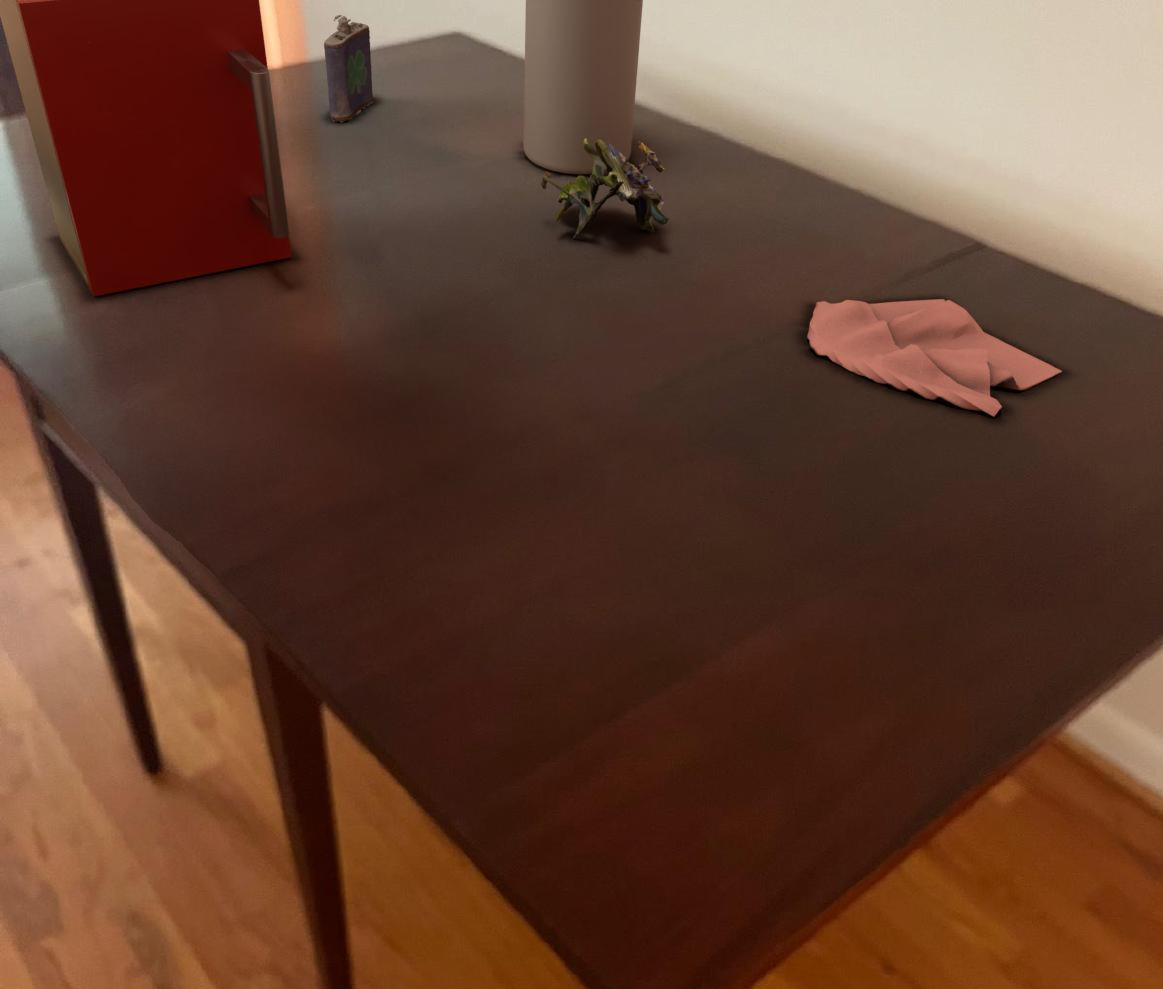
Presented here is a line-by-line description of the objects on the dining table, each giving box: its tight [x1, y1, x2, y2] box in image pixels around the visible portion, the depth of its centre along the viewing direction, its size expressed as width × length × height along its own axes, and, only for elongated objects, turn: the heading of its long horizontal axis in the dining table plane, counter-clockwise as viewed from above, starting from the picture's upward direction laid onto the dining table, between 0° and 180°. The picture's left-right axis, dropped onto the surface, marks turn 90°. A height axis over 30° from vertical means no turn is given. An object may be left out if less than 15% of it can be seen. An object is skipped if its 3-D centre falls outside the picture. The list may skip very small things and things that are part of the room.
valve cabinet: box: [0, 0, 92, 293], centre depth 101 cm, size 12×18×24 cm, turn 121°
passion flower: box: [540, 138, 670, 240], centre depth 114 cm, size 11×11×12 cm
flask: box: [323, 14, 374, 124], centre depth 136 cm, size 9×3×11 cm, turn 163°
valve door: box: [16, 0, 293, 297], centre depth 95 cm, size 7×18×24 cm, turn 121°
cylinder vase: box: [522, 0, 644, 175], centre depth 123 cm, size 12×12×25 cm
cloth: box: [806, 298, 1063, 417], centre depth 100 cm, size 20×22×2 cm
